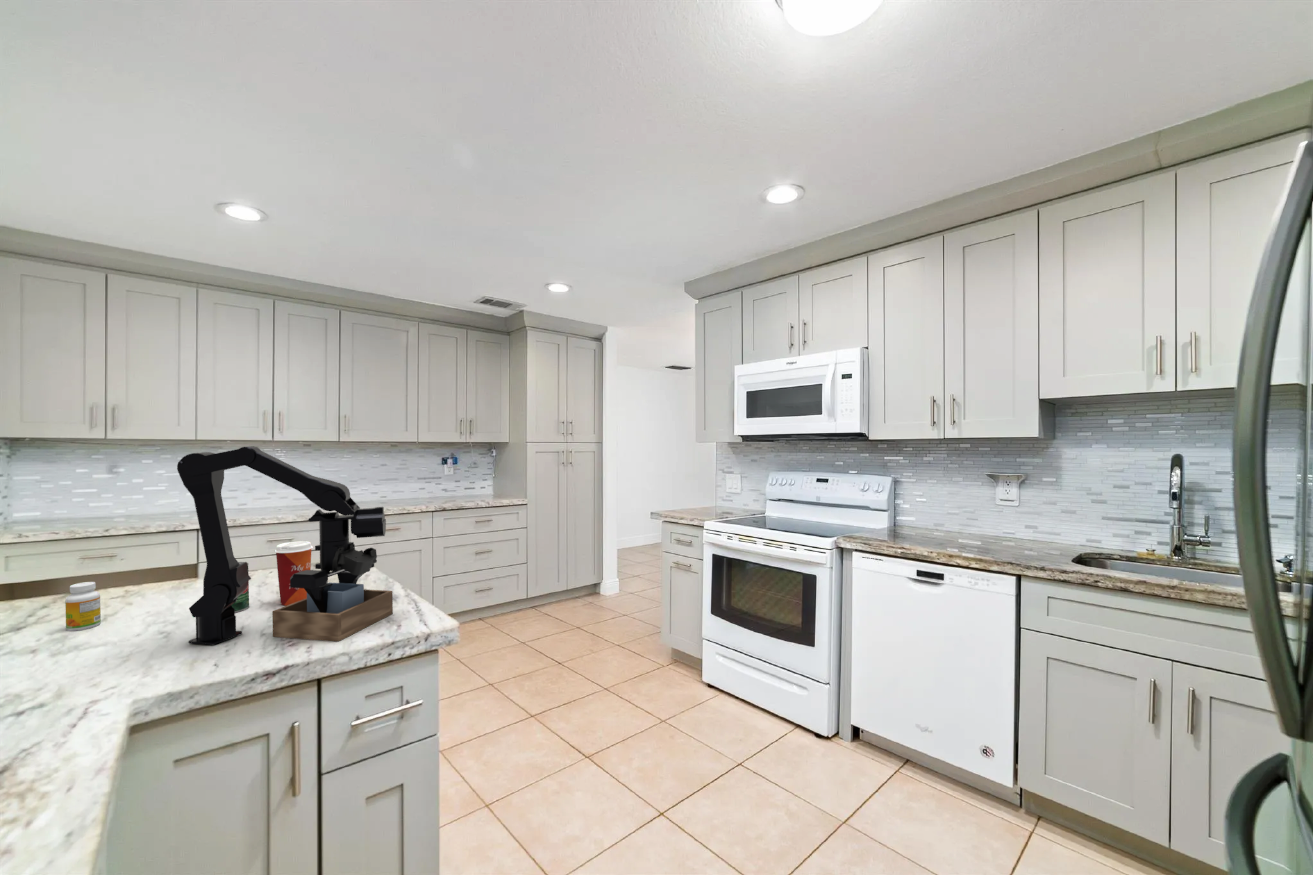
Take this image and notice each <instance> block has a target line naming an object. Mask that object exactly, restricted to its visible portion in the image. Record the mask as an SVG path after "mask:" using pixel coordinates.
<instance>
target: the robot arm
mask: <svg viewBox="0 0 1313 875" xmlns="http://www.w3.org/2000/svg"><path fill="white" fill-rule="evenodd" d="M244 466H246V467H247V468H250V469H252V470H253V471H256V472H258V473H260V474H263V475H264V476H267V477H269V478H271V479H273V480H275V481H278V482H279V483H281V484H283V485H285V486H287V487H290V488H291V489H294V490H296V491H298V492H299V493H301V494H302V495H304V497H306V498H307V499H308V500H309V501H310V502H311V503H313V504H314V505H316V506H317V507H318V508H320V509H317V510H316V511H315V512H314V513H313V514H312V516H310V517H309V518H308V520H307V521H308V522H310V523H311V522H313V523H314V522H319V523H318V524H319V525H318V528H319V531H318V532H319V544H317V545H315V546H314V550H315V551H317V552H319V562H317V563H315V564H314V565H315V567H314V568H315V569H311V570H305V571H301V572H298V573H295V574H293V575H292V576H291V578H290V588H304V589H305V590H306V592H307V593H308V594H309V596H310V597H311V598H312V600H313V601H314V603H315V605H316V606H317V608H318V610H319V611H320V613H326V612H327V601H328V590H329V588H330V587H331V586H332V585H333V583H334V582H331V583H329V582H328V581H329V578H330V577H332V576H337V578H338V579H337V580H338V583H351V584H358V581H359V579H360V578H361V577H362V576H363V575H364V574H366V573H369V572H370V571H371V569H372V568H374V567H375V564H377V558H378V555H377V548H373V547H369V548H366V549H364V550H362V549H361V550H357V549H356V548H355V547H356V545H355V543H354V541H350V533H351V535H352V534H353V536H356V538H357V539H360V538H361V539H362V538H363V539H365V538H377V537H385V536H386V529H387V520H386V518H385V516H386V515H385V511H384V510H385V508H384V506H375V507H367V508H366V507H365V508H361V507H360V506H359V505H358V504H357V503H356V502H355V500H354V499H353V498H352V497H351V492H350V488H349V487H348V486H346V485H345V484H343V483H340V482H338V481H333V480H330V479H327V478H321V477H318V476H315V475H312V474H309V472H306V471H304V470H301V469H299V468H297V467H295V466H294V465H292V464H289V463H287V462H285V461H283V460H281V459H280V458H277V457H275V456H273V455H271V454H268V453H267V452H265V451H262V450H261V449H260V448H259V447H257V446H250V445H249V446H242V447H239V448H237V449H232V450H228V451H227V450H226V451H222V452H217V453H215V452H211V451H205V452H193V453H192V452H191V453H188V454H186V455H184V456H183V457H181V459H180V460H179V461H178V462H177V465H176V467H177V468H176V469H177V474H178V475H179V478H180V480H181V482H182V484H183V486H184V487H185V489H186V491H188V492H189V493H190V496H191V497H192V498H193V502H194V508H195V512H196V516H197V521H198V526H199V531H200V536H201V540H202V546H203V550H204V555H205V560H206V567H205V571H204V572H205V573H204V577H203V588H202V593H203V594H202V596H201V597H199V599H198V600H197V601H195V602H194V603H193V604H192V605H191V606H189V608H188V610H189V612H190V614H191V616H192V617H193V618H195V638H192V639H190V640H188V644H192V645H193V644H195V645H206V646H207V645H208V646H214V645H218V644H221V643H222V642H225V641H228V640H230V639H233V638H235V637H237V636H239V635H242V634H243V631H242V630H237V616H236V613H235V608H233V607H232V606H231V605H232V604H233V603H235V602H236V601H237V598H238V596H240V595H241V594H242V593H243V592H244V591H245V590H246V588H247V586H248V581H249V582H250V580H251V579H252V578H251V576H250V575H249V574H248V573H249V571H247V563H248V562H247V561H243V562H244V563H241V564H239V563H238V562H239V561H238V560H237V559H236V557H235V555H234V552H233V550H234V549H233V547H232V541H231V536H230V531H229V527H228V522H227V518H226V517H227V516H226V512H225V507H224V502H223V496H222V489H223V485H224V481H225V480H224V479H225V470H231V469H234V468H238V467H239V468H240V467H244ZM322 510H323V511H322ZM324 511H326V512H324ZM340 514H341V515H340ZM349 522H350V523H349Z"/></svg>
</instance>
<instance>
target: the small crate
mask: <svg viewBox="0 0 1313 875" xmlns="http://www.w3.org/2000/svg"><path fill="white" fill-rule="evenodd" d="M328 583H333V585H332V586H331V587H330V588H329V590H328V601H327V612H326V613H334V614H338V613H340V612H343V611H345V610H347V609H349V608H352V607H354V606H356V605H358V604H361V603H363V602H364V586H365V584H364V583H356V584H351V583H339V582H328ZM307 612H318V613H320V611H319V610H318V608H317V606H316V605H315V603H314V601H313V600H312V598H311V597H310V596H309V594H308V593H307Z"/></svg>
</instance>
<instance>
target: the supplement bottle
mask: <svg viewBox="0 0 1313 875" xmlns="http://www.w3.org/2000/svg"><path fill="white" fill-rule="evenodd" d="M96 589H97V588H96V582H95V581H85V582H77V583H75V584H72V585H70V586H69V593H71V594H69V595H68V596H66V597H65V603H64V604H65V630H66V631H69V632H78V631H83V630H88V629H92V628H95V627H97V626H99V625H100V624H101V622H102V619H101V618H102V617H101V594H100V592H99V591H97V590H96Z"/></svg>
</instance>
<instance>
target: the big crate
mask: <svg viewBox="0 0 1313 875" xmlns="http://www.w3.org/2000/svg"><path fill="white" fill-rule="evenodd" d="M393 599H394V598H393V590H384V589H383V590H382V589H381V590H380V589H366V588H365V589H364V602H363V603H361V604H358V605H356V606H354V607H352V608H349V609H347V610H345V611H343V612H340V613H338V614H334V613H318V612H307V598H306V599H303V600H300V601H298V602H295V603H293V604H290V605H287V606H283V607H279V608H277V609H274V610H272V611H271V612H272V638H285V639H297V640H310V641H311V640H313V641H314V640H315V641H327V642H341V641H342V640H344V639H346V638H349V637H350V636H351V635H354V634H356V633H358V632H360V631H362V630H363V629H366V628H367V627H370V626H372V625H374V624H376V623H377V622H379V621H381V620H384V619H385V618H387V617H390V616H391V615H393V613H394V609H393V608H394V606H393V604H394V603H393V602H394V601H393Z"/></svg>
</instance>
